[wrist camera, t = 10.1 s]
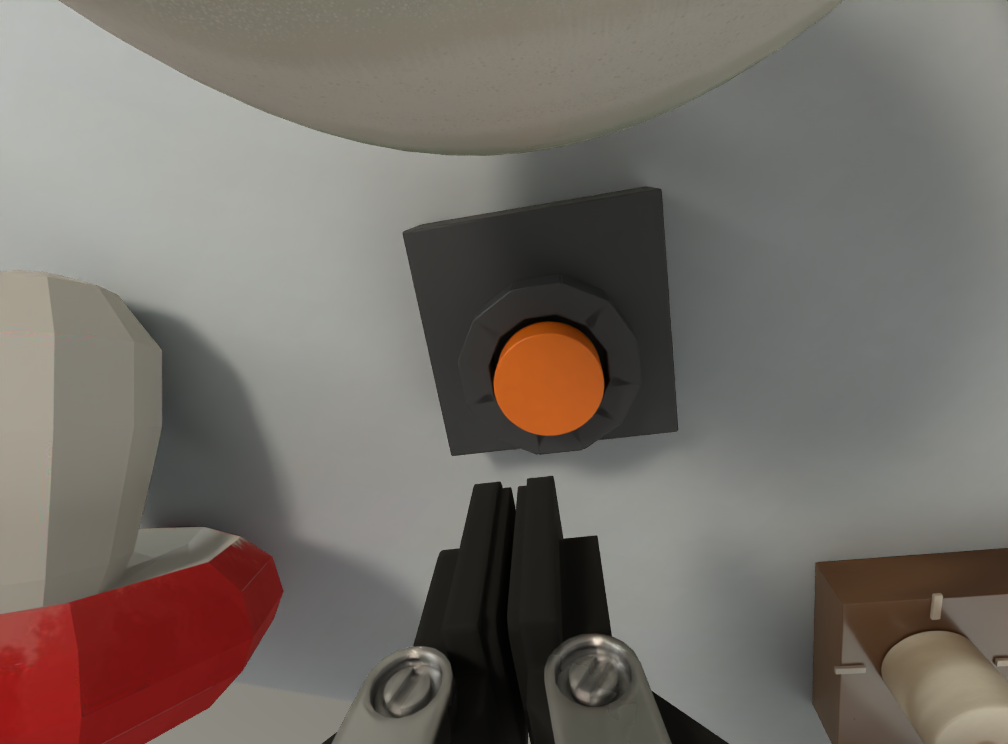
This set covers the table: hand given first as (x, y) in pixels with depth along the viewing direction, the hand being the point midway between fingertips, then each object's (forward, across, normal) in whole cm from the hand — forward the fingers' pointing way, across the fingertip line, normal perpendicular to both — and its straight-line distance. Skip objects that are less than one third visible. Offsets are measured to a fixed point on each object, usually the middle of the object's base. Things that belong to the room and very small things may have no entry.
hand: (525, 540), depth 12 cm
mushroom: (+13, +21, -7) cm, 26 cm away
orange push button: (+11, -1, 0) cm, 11 cm away
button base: (+15, -1, -1) cm, 15 cm away
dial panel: (+15, -19, +19) cm, 31 cm away
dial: (+12, -17, +18) cm, 27 cm away
